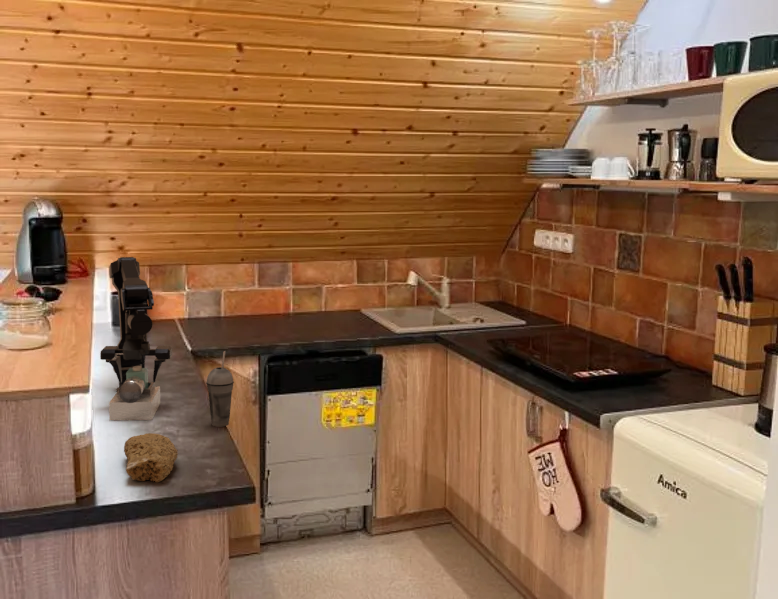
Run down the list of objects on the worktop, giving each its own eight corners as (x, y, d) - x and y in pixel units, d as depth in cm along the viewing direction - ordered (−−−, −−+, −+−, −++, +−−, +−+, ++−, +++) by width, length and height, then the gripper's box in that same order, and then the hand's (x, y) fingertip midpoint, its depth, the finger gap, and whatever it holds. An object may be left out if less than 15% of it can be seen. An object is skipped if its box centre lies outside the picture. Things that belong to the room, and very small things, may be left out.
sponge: (175, 488, 165) (187, 440, 184) (166, 458, 162) (179, 412, 181) (114, 499, 164) (132, 450, 183) (104, 469, 161) (123, 422, 180)
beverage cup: (204, 421, 207) (203, 349, 204) (230, 419, 210) (230, 347, 207) (209, 429, 200) (208, 355, 198) (236, 426, 203) (236, 353, 200)
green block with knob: (130, 388, 219) (129, 364, 218) (148, 388, 220) (147, 364, 219) (126, 393, 214) (126, 369, 213) (145, 393, 215) (144, 368, 214)
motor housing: (121, 403, 221) (120, 367, 220) (160, 403, 223) (159, 367, 221) (109, 420, 205) (108, 382, 204) (151, 420, 207) (151, 381, 206)
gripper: (95, 333, 205) (96, 390, 207) (166, 333, 208) (167, 389, 210) (104, 326, 216) (105, 379, 218) (172, 326, 219) (172, 379, 221)
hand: (137, 382), depth 217 cm, fingers open, 9 cm apart
